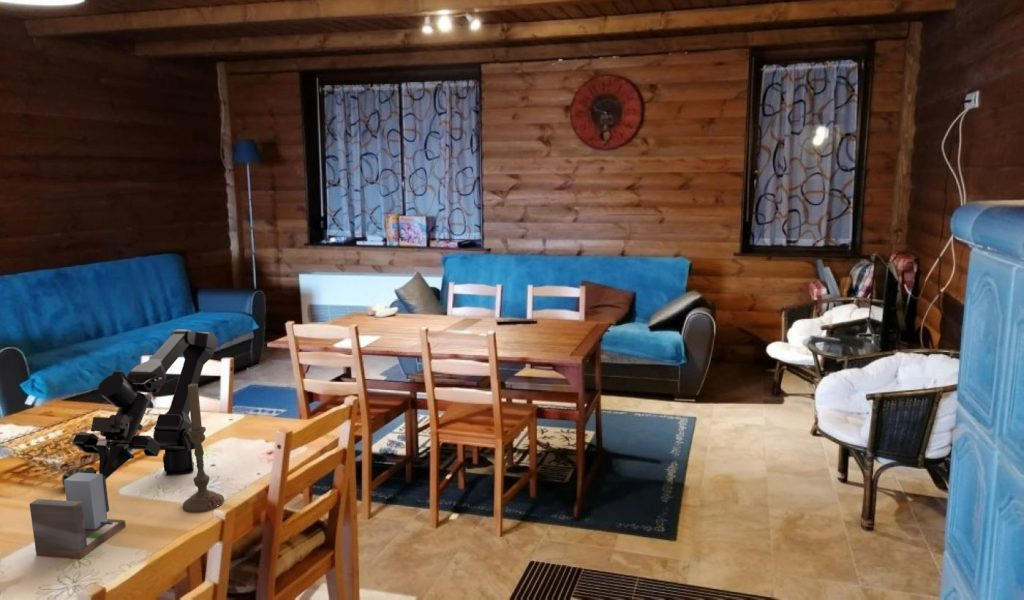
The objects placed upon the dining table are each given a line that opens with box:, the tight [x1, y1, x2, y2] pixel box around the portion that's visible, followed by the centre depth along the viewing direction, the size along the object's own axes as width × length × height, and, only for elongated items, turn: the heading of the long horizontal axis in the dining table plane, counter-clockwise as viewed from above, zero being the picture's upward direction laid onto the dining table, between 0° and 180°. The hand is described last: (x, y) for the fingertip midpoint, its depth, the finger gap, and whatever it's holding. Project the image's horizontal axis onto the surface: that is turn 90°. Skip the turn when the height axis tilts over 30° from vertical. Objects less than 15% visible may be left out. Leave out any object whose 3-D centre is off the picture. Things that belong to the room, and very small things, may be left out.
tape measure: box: [62, 466, 98, 487], centre depth 185 cm, size 7×7×4 cm
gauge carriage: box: [63, 473, 113, 529], centre depth 160 cm, size 5×9×11 cm, turn 82°
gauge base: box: [29, 498, 126, 560], centre depth 156 cm, size 14×10×12 cm
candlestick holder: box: [182, 382, 225, 513], centre depth 172 cm, size 9×9×30 cm
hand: (101, 479), depth 164 cm, fingers closed
